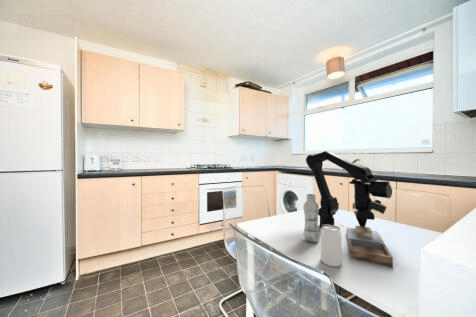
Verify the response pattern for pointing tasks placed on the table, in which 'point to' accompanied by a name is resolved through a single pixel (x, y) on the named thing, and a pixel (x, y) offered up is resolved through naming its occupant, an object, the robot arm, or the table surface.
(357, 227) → the tile
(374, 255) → the box
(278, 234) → the table surface
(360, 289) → the table surface
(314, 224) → the plastic bottle
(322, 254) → the can
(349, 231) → the plate
